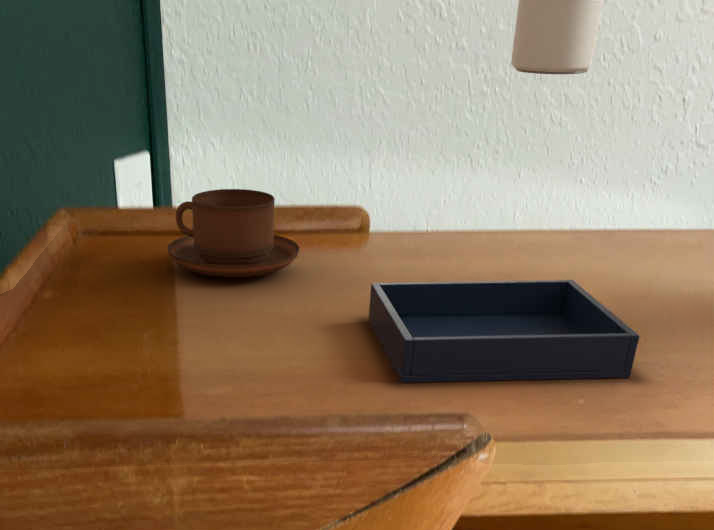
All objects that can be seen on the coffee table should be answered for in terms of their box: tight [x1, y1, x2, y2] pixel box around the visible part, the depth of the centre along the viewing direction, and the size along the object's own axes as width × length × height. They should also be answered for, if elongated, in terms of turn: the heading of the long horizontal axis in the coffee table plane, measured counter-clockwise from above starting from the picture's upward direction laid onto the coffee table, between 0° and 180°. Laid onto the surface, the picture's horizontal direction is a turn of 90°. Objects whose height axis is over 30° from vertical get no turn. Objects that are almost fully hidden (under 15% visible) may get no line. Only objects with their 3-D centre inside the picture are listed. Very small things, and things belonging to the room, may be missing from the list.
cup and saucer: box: [167, 188, 300, 278], centre depth 87 cm, size 12×12×6 cm
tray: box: [368, 279, 640, 384], centre depth 71 cm, size 16×13×3 cm
